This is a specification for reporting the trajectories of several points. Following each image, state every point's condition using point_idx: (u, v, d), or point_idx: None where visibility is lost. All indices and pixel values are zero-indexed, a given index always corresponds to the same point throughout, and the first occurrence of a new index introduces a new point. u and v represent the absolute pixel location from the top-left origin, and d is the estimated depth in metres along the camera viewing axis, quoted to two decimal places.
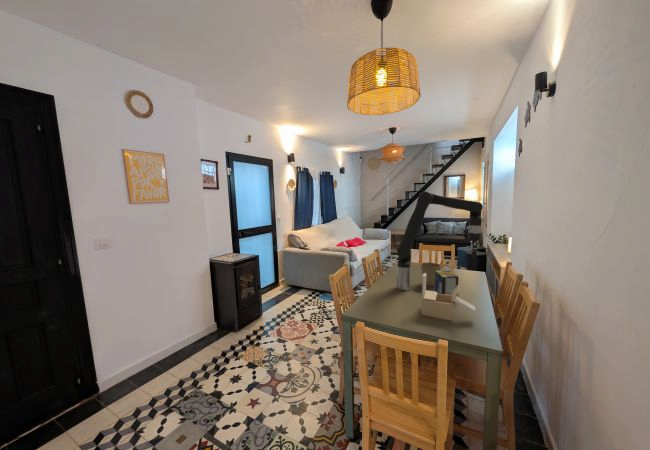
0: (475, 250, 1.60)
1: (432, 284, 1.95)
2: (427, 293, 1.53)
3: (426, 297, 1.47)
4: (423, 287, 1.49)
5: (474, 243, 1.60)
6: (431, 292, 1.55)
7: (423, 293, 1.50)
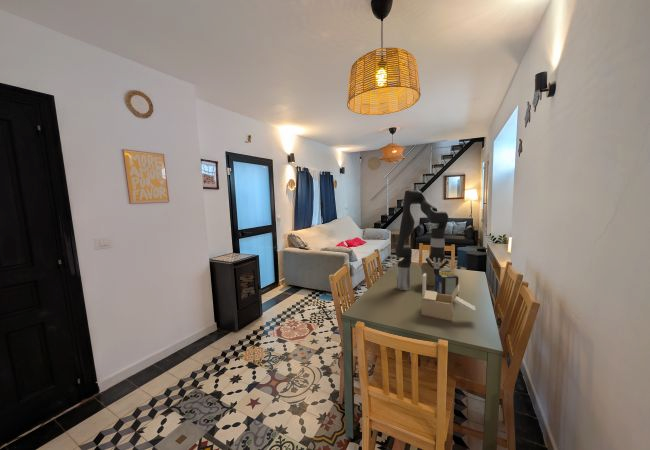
0: None
1: (432, 284, 1.95)
2: (427, 293, 1.53)
3: (426, 297, 1.47)
4: (423, 287, 1.49)
5: (448, 261, 1.44)
6: (431, 292, 1.55)
7: (423, 293, 1.50)
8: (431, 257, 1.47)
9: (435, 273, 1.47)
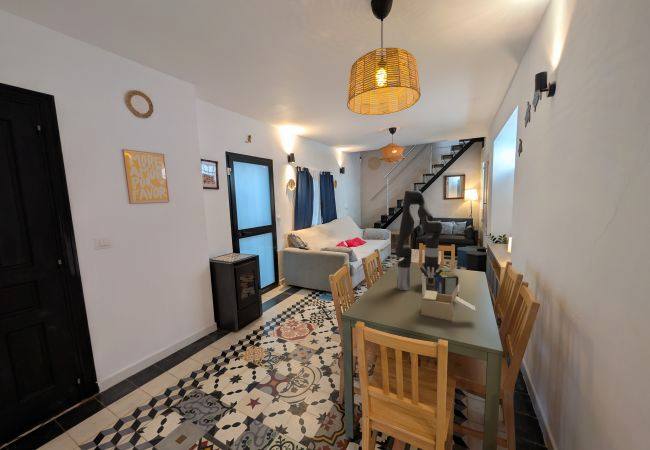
0: None
1: (432, 284, 1.95)
2: (427, 293, 1.53)
3: (426, 297, 1.47)
4: (423, 287, 1.50)
5: (441, 271, 1.46)
6: (431, 292, 1.55)
7: (423, 293, 1.50)
8: (425, 266, 1.49)
9: (429, 282, 1.49)
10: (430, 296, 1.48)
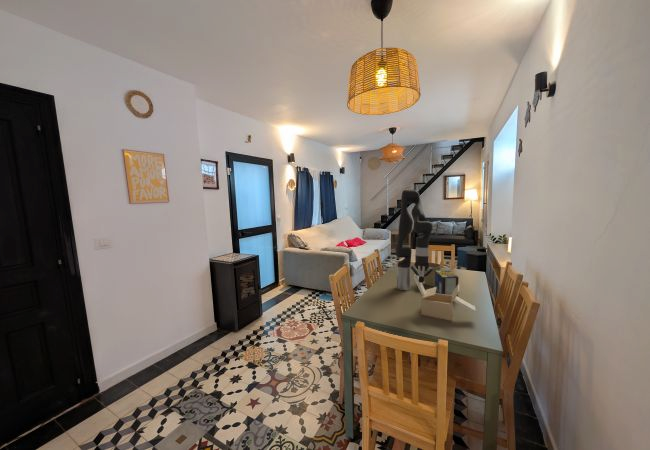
0: None
1: (432, 284, 1.95)
2: (427, 291, 1.53)
3: (426, 295, 1.47)
4: (419, 287, 1.51)
5: None
6: (430, 289, 1.55)
7: (422, 293, 1.50)
8: (416, 265, 1.52)
9: (420, 281, 1.52)
10: (429, 293, 1.48)
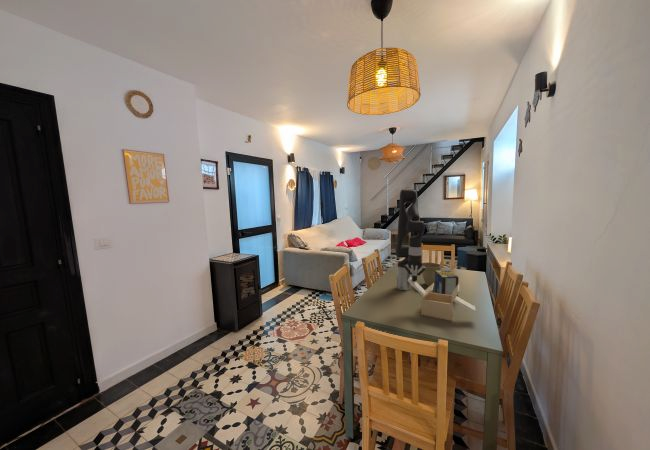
0: (420, 273, 1.53)
1: None
2: (426, 290, 1.53)
3: (425, 294, 1.47)
4: (416, 288, 1.51)
5: None
6: (429, 287, 1.55)
7: (421, 293, 1.50)
8: (409, 264, 1.54)
9: (413, 280, 1.54)
10: (428, 291, 1.48)
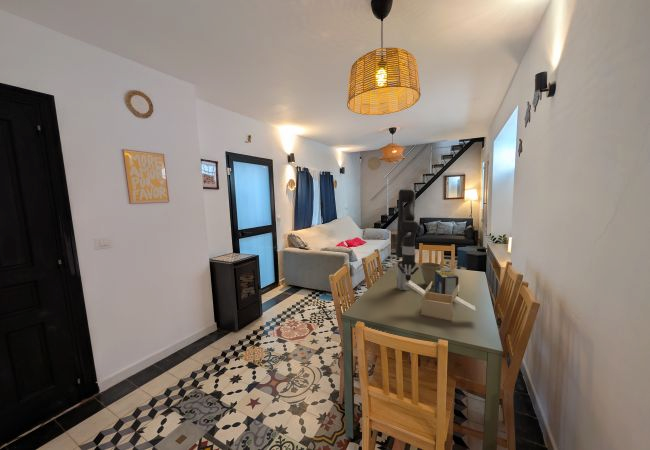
0: (413, 272, 1.55)
1: (432, 284, 1.95)
2: (425, 290, 1.53)
3: (424, 293, 1.48)
4: (415, 289, 1.52)
5: (418, 268, 1.52)
6: (428, 286, 1.55)
7: (421, 293, 1.50)
8: (403, 264, 1.56)
9: (406, 279, 1.55)
10: (426, 290, 1.49)
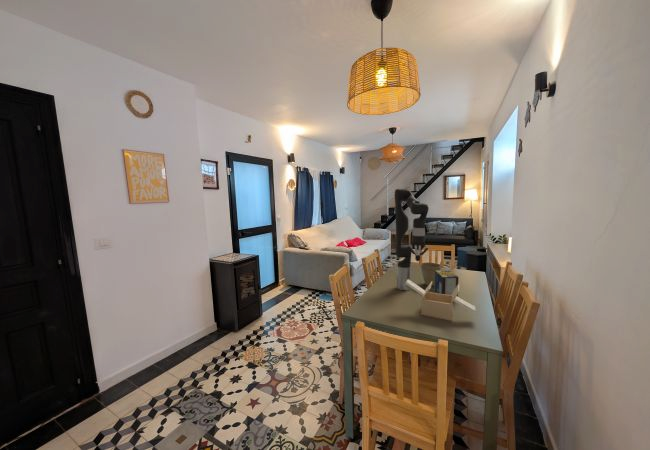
0: None
1: (432, 284, 1.95)
2: (425, 290, 1.53)
3: (424, 293, 1.48)
4: (415, 289, 1.52)
5: (427, 249, 1.59)
6: (428, 286, 1.55)
7: (421, 293, 1.50)
8: (413, 245, 1.62)
9: (416, 259, 1.62)
10: (426, 290, 1.49)
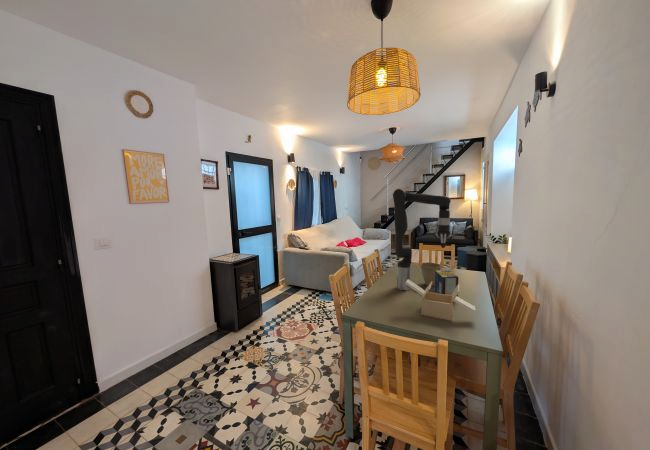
0: None
1: (432, 284, 1.95)
2: (425, 290, 1.53)
3: (424, 293, 1.48)
4: (415, 289, 1.52)
5: None
6: (428, 286, 1.55)
7: (421, 293, 1.50)
8: (439, 233, 1.82)
9: (442, 246, 1.82)
10: (426, 290, 1.49)
